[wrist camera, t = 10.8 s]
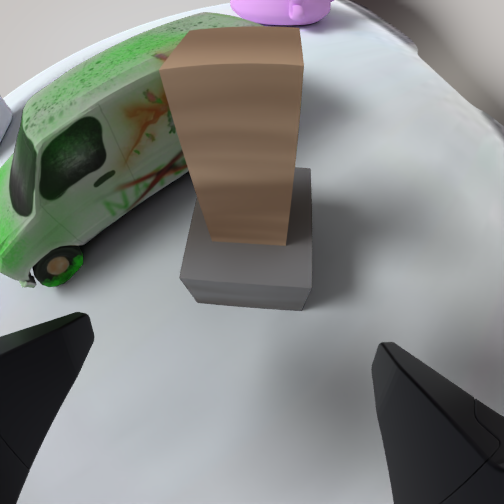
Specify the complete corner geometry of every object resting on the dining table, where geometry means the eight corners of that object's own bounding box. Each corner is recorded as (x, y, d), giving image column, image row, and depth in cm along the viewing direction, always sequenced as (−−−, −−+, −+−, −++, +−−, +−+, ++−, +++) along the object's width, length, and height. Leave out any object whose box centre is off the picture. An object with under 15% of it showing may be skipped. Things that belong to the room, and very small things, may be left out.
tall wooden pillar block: (301, 310, 16) (374, 120, 5) (197, 302, 17) (81, 124, 5) (303, 208, 19) (330, 16, 8) (215, 203, 20) (172, 18, 8)
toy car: (19, 219, 21) (-42, 154, 12) (221, 84, 27) (209, 2, 18) (42, 307, 17) (-57, 245, 8) (293, 128, 23) (299, 22, 14)
